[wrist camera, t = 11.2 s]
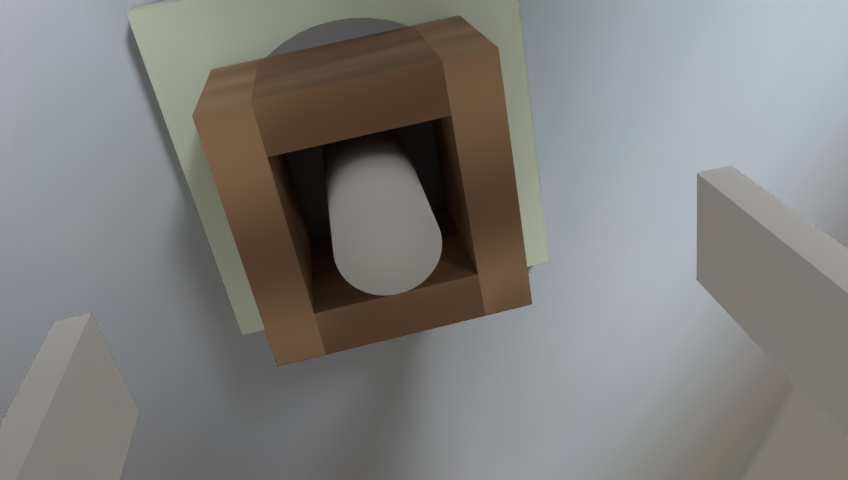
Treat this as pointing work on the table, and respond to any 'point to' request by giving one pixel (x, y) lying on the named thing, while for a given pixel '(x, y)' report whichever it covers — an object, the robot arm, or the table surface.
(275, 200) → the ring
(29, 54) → the table surface
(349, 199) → the peg stand
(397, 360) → the table surface
